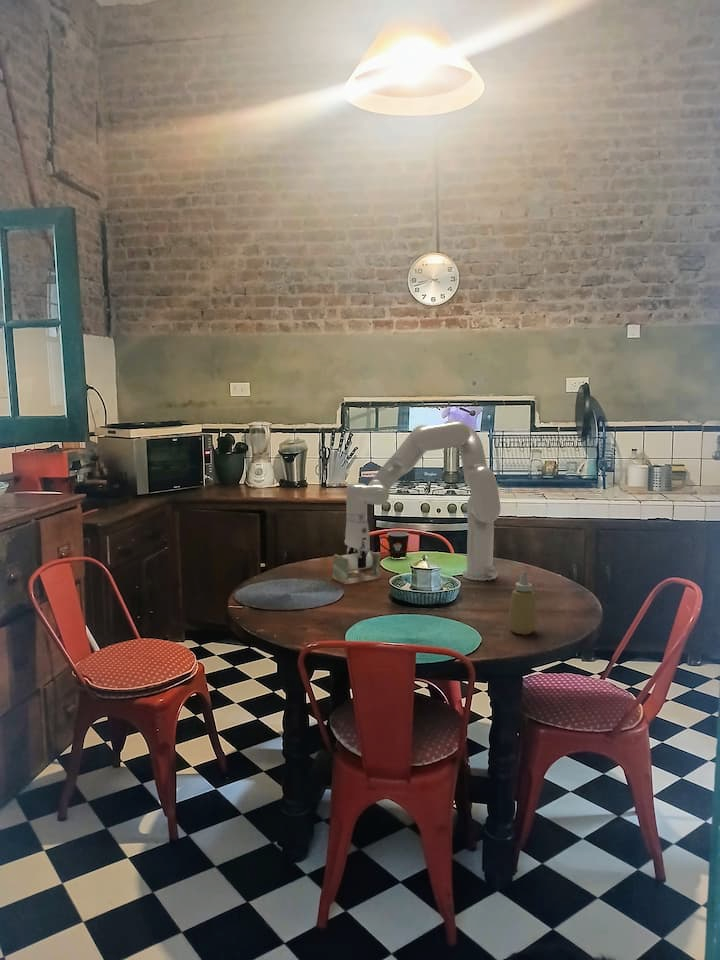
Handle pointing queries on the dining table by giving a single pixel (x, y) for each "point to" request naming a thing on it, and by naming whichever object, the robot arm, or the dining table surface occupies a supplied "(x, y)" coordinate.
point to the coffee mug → (397, 544)
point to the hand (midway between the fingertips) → (356, 565)
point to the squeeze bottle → (523, 607)
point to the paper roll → (354, 561)
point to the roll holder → (355, 576)
